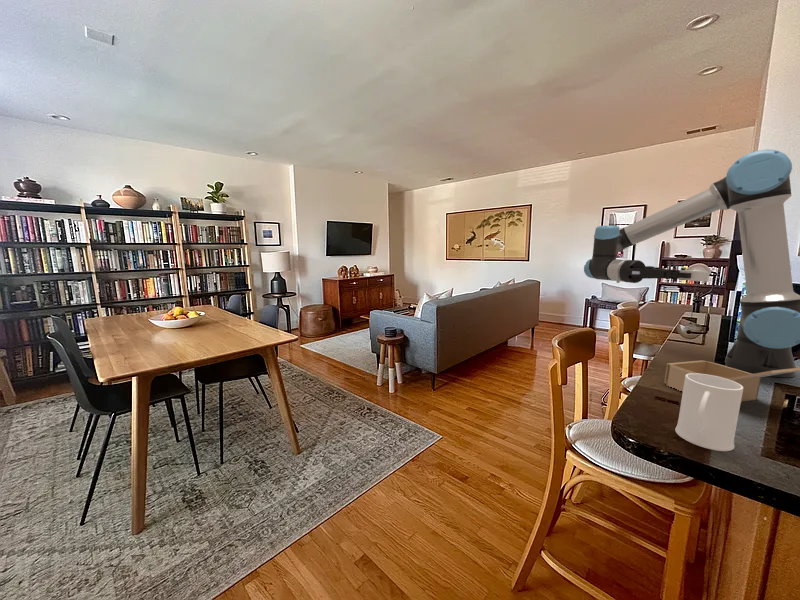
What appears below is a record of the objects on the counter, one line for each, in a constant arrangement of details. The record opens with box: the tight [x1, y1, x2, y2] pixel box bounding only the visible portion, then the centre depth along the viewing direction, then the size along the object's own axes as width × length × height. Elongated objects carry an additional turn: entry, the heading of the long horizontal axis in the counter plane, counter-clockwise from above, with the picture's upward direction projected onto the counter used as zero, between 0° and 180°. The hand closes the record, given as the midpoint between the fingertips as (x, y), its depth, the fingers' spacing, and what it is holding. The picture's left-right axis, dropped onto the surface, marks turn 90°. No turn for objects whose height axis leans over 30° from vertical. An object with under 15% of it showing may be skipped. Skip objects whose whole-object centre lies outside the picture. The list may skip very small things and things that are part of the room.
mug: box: [674, 373, 743, 452], centre depth 62 cm, size 12×8×12 cm
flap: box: [727, 367, 800, 380], centre depth 74 cm, size 13×1×10 cm
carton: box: [663, 359, 762, 402], centre depth 85 cm, size 15×13×6 cm
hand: (706, 276), depth 87 cm, fingers closed
